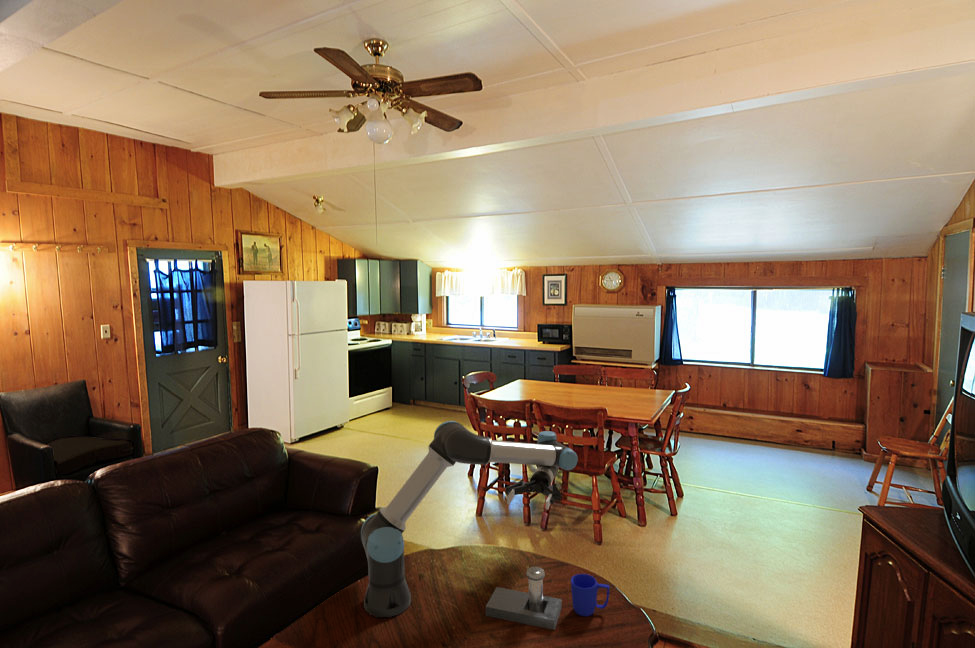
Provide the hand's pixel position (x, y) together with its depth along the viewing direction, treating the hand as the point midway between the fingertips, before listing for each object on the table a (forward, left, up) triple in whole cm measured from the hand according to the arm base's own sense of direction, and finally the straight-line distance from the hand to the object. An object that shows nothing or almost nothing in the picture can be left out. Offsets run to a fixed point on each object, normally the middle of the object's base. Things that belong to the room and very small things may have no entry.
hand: (527, 503), depth 172 cm
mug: (+22, -7, -30) cm, 38 cm away
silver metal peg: (+6, -13, -30) cm, 33 cm away
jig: (+2, -13, -30) cm, 33 cm away
